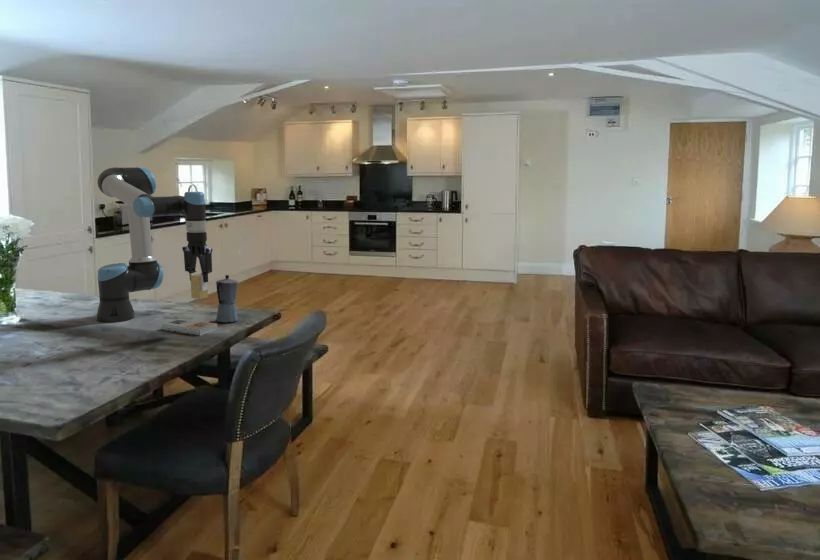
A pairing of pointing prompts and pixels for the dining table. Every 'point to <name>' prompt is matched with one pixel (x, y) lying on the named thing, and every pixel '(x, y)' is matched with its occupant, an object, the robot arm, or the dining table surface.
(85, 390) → the dining table surface
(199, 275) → the tan rectangular block
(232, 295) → the moka pot
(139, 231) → the robot arm
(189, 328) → the grey shape sorter board
